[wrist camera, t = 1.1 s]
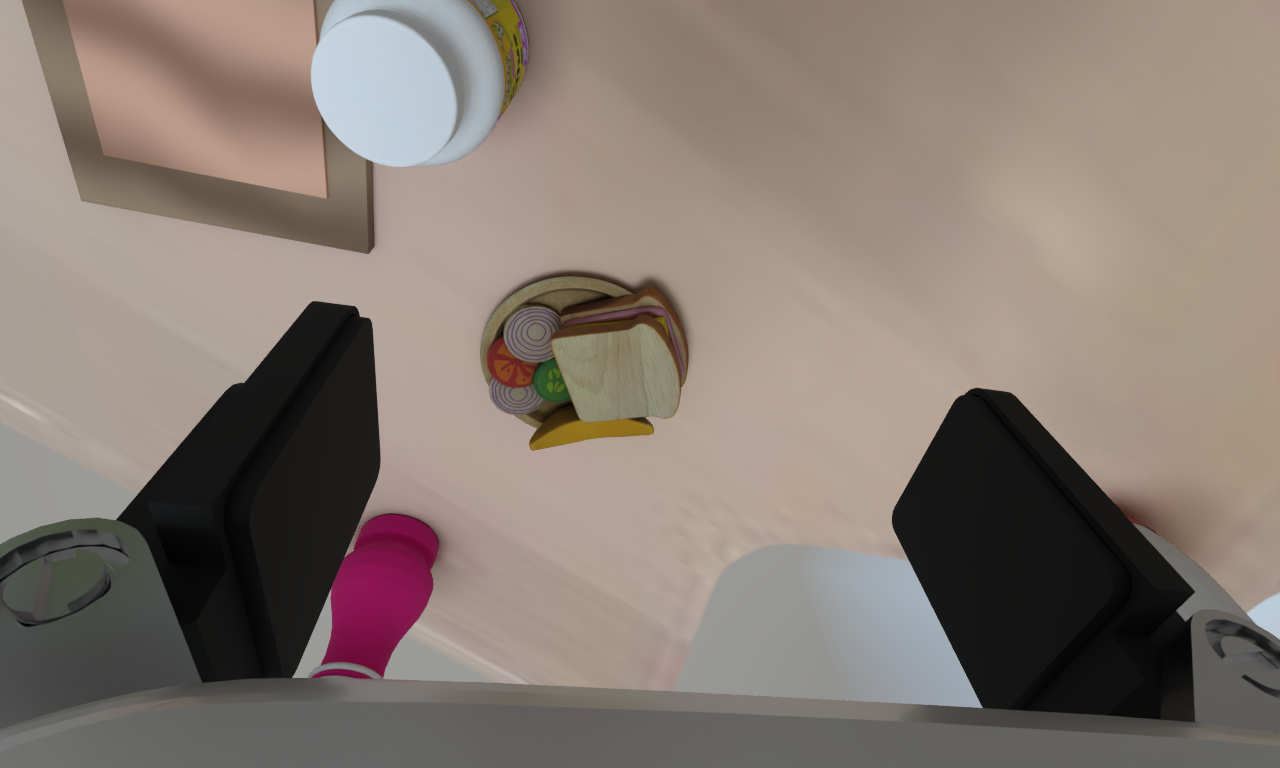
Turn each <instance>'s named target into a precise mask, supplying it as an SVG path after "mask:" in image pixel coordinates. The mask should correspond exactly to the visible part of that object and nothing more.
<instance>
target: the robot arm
mask: <svg viewBox="0 0 1280 768" xmlns="http://www.w3.org/2000/svg"><path fill="white" fill-rule="evenodd" d="M379 469H380V440H379V424H378V408H377V392H376V375H375V359H374V343H373V328H372V322H371V320H370V319H369V318H364V317H360V315H359V312H358V309H357V308H356V307H355V306H348V305H341V304H333V303H326V302H318V301H313V302H311V303H310V304H309V305H308V306H307V307H306V309H305V310H304V311H303V312H302V313H301V315H300V316H299V317H298V318H297V320H296V321H295V322H294V323H293V324H292V326H291V327H290V328H289V329H288V330H287V332H286V333H285V334H284V335H283V337H282V338H281V339H280V340H279V341H278V343H277V344H276V345H275V346H274V348H273V349H272V350H271V351H270V352H269V354H268V355H267V356H266V357H265V358H264V360H263V361H262V362H261V363H260V365H259V366H258V367H257V368H256V369H255V371H254V372H253V373H252V374H251V376H250V377H249V378H248V379H247V380H246V382H245V383H238V384H234V385H232V386H231V387H230V388H229V389H227V390H226V391H225V392H224V394H223V395H222V396H221V397H220V398H219V399H218V401H217V402H216V403H215V404H214V405H213V406H212V408H211V409H210V410H209V411H208V412H207V414H206V415H205V416H204V417H203V418H202V419H201V421H200V422H199V423H198V424H197V425H196V426H195V428H194V429H193V430H192V431H191V432H190V434H189V435H188V436H187V437H186V438H185V439H184V441H183V442H182V443H181V444H180V445H179V446H178V448H177V449H176V450H175V451H174V452H173V454H172V455H171V456H170V457H169V458H168V459H167V461H166V462H165V463H164V464H163V465H162V466H161V468H160V469H159V470H158V471H157V472H156V474H155V475H154V476H153V477H152V478H151V479H150V481H149V482H148V483H147V484H146V485H145V487H144V488H143V489H142V490H141V491H140V492H139V494H138V495H137V496H136V497H135V498H134V500H133V501H132V502H131V503H130V504H129V506H128V507H127V508H126V509H125V510H124V511H123V512H122V514H121V515H120V516H119V517H118V518H117V519H116V520H109V519H102V518H87V519H72V520H66V521H62V522H58V523H54V524H49V525H45V526H41V527H38V528H36V529H33V530H31V531H28V532H26V533H23V534H21V535H18V536H16V537H13V538H11V539H9V540H7V541H6V542H4V543H2V544H1V545H0V768H1280V640H1279V639H1278V638H1277V637H1275V636H1274V635H1272V634H1271V633H1269V632H1268V631H1266V630H1264V629H1262V628H1261V627H1259V626H1257V625H1256V624H1254V623H1252V622H1250V621H1248V620H1245V619H1243V618H1241V617H1239V616H1236V615H1234V614H1231V613H1227V612H1223V611H1220V610H1216V609H1202V610H1200V611H1198V612H1196V613H1195V614H1193V615H1192V616H1191V617H1190V618H1189V619H1188V620H1187V621H1185V620H1184V619H1183V618H1182V617H1181V615H1180V614H1179V613H1178V612H1177V611H1176V610H1177V609H1178V608H1179V607H1180V606H1182V605H1183V604H1184V603H1185V602H1186V601H1187V600H1188V599H1189V598H1190V597H1191V596H1192V595H1193V594H1194V593H1195V591H1194V590H1193V588H1192V587H1191V586H1190V585H1189V584H1188V583H1187V582H1186V581H1185V580H1184V579H1183V578H1182V577H1181V575H1180V574H1179V573H1178V572H1177V571H1176V570H1175V569H1174V568H1173V567H1172V566H1171V565H1170V563H1169V562H1168V561H1167V560H1166V559H1165V558H1164V557H1163V556H1162V555H1161V554H1160V553H1159V552H1158V550H1157V549H1156V548H1155V547H1154V546H1153V545H1152V544H1151V543H1150V542H1149V541H1148V540H1147V539H1146V537H1145V536H1144V535H1143V534H1142V533H1141V532H1140V531H1139V530H1138V529H1137V528H1136V527H1135V525H1134V524H1133V523H1132V522H1131V521H1130V520H1129V519H1128V518H1127V517H1126V516H1125V515H1124V514H1123V512H1122V511H1121V510H1120V509H1119V508H1118V507H1117V506H1116V505H1115V504H1114V503H1113V502H1112V500H1111V499H1110V498H1109V497H1108V496H1107V495H1106V494H1105V493H1104V492H1103V491H1102V490H1101V489H1100V487H1099V486H1098V485H1097V484H1096V483H1095V482H1094V481H1093V480H1092V479H1091V478H1090V477H1089V476H1088V474H1087V473H1086V472H1085V471H1084V470H1083V469H1082V468H1081V467H1080V466H1079V465H1078V464H1077V462H1076V461H1075V460H1074V459H1073V458H1072V457H1071V456H1070V455H1069V454H1068V453H1067V452H1066V451H1065V449H1064V448H1063V447H1062V446H1061V445H1060V444H1059V443H1058V442H1057V441H1056V440H1055V439H1054V437H1053V436H1052V435H1051V434H1050V433H1049V432H1048V431H1047V430H1046V429H1045V428H1044V427H1043V426H1042V424H1041V423H1040V422H1039V421H1038V420H1037V419H1036V418H1035V417H1034V416H1033V415H1032V414H1031V413H1030V411H1029V410H1028V409H1027V408H1026V407H1025V406H1024V405H1023V404H1022V403H1021V402H1020V401H1019V399H1018V398H1017V397H1016V396H1014V395H1013V394H1012V393H1009V392H1004V391H996V390H989V389H981V388H974V389H971V390H969V391H968V392H967V393H966V394H965V395H962V396H959V397H958V398H957V399H956V400H955V401H954V403H953V405H952V406H951V408H950V410H949V412H948V413H947V415H946V417H945V419H944V421H943V422H942V424H941V426H940V428H939V430H938V431H937V433H936V435H935V437H934V438H933V440H932V442H931V444H930V446H929V447H928V449H927V451H926V453H925V454H924V456H923V458H922V460H921V462H920V463H919V465H918V467H917V469H916V470H915V472H914V474H913V476H912V478H911V479H910V481H909V483H908V485H907V486H906V488H905V490H904V492H903V494H902V495H901V497H900V499H899V501H898V502H897V504H896V506H895V508H894V510H893V514H892V525H893V529H894V531H895V533H896V535H897V537H898V539H899V541H900V543H901V545H902V547H903V549H904V551H905V553H906V555H907V557H908V559H909V561H910V563H911V565H912V567H913V569H914V571H915V573H916V575H917V577H918V579H919V581H920V583H921V585H922V587H923V589H924V591H925V593H926V595H927V597H928V599H929V601H930V603H931V605H932V607H933V609H934V611H935V613H936V615H937V617H938V619H939V621H940V623H941V625H942V627H943V629H944V631H945V633H946V635H947V637H948V639H949V641H950V643H951V645H952V647H953V649H954V651H955V653H956V655H957V657H958V659H959V661H960V663H961V665H962V667H963V669H964V671H965V673H966V675H967V677H968V679H969V681H970V683H971V685H972V687H973V689H974V691H975V693H976V695H977V697H978V699H979V701H980V703H981V705H982V707H983V708H971V707H953V706H937V705H919V704H901V703H882V702H881V703H880V702H864V701H845V700H825V699H808V698H807V699H806V698H788V697H770V696H751V695H732V694H712V693H711V694H710V693H692V692H672V691H651V690H630V689H609V688H588V687H567V686H546V685H525V684H504V683H484V682H482V683H481V682H452V681H419V680H387V679H356V678H292V676H293V675H294V674H295V671H296V670H297V667H298V665H299V663H300V660H301V658H302V656H303V653H304V651H305V648H306V646H307V644H308V642H309V639H310V637H311V634H312V632H313V630H314V627H315V625H316V623H317V620H318V618H319V615H320V613H321V611H322V608H323V606H324V604H325V601H326V599H327V597H328V594H329V592H330V590H331V587H332V585H333V583H334V580H335V578H336V575H337V573H338V571H339V568H340V566H341V564H342V561H343V559H344V557H345V554H346V552H347V549H348V547H349V545H350V542H351V540H352V538H353V535H354V533H355V531H356V528H357V526H358V523H359V521H360V519H361V516H362V514H363V512H364V509H365V507H366V505H367V502H368V500H369V497H370V495H371V493H372V490H373V488H374V486H375V483H376V481H377V478H378V474H379Z"/></svg>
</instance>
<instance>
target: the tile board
mask: <svg viewBox="0 0 1280 768" xmlns="http://www.w3.org/2000/svg"><path fill="white" fill-rule="evenodd" d="M22 2H23V6H24V9H25V12H26V16H27V19H28V22H29V26H30V29H31V33H32V36H33V39H34V43H35V46H36V49H37V53H38V56H39V59H40V63H41V66H42V70H43V73H44V76H45V80H46V83H47V86H48V90H49V93H50V96H51V100H52V103H53V106H54V110H55V113H56V117H57V120H58V123H59V127H60V130H61V133H62V137H63V140H64V143H65V147H66V150H67V154H68V157H69V160H70V164H71V167H72V170H73V174H74V177H75V180H76V184H77V187H78V191H79V194H80V197H81V201H84V202H90V203H95V204H100V205H106V206H111V207H117V208H122V209H128V210H133V211H138V212H144V213H149V214H155V215H160V216H165V217H171V218H176V219H182V220H187V221H193V222H198V223H203V224H209V225H214V226H220V227H225V228H230V229H236V230H241V231H247V232H252V233H258V234H263V235H268V236H274V237H279V238H285V239H290V240H295V241H301V242H306V243H312V244H317V245H323V246H328V247H333V248H339V249H344V250H350V251H355V252H360V253H366V254H369V253H370V252H371V250H372V249H373V248H374V223H373V184H372V161H370V160H368V159H366V158H363V157H361V156H360V155H358V154H356V153H355V152H353V151H352V150H351V149H349V148H348V147H347V146H346V145H345V144H343V143H342V142H341V141H340V140H339V139H338V138H337V137H336V135H335V134H334V133H333V132H332V131H331V130H330V128H329V127H328V125H327V124H326V122H325V121H324V119H323V117H322V115H321V113H320V112H319V110H318V107H317V105H316V102H315V99H314V95H313V91H312V84H311V65H312V59H313V54H314V52H315V49H316V47H317V45H318V43H319V40H320V34H321V28H322V25H323V22H324V19H325V16H326V14H327V12H328V10H329V8H330V6H331V5H332V3H333V2H334V0H22Z"/></svg>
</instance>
